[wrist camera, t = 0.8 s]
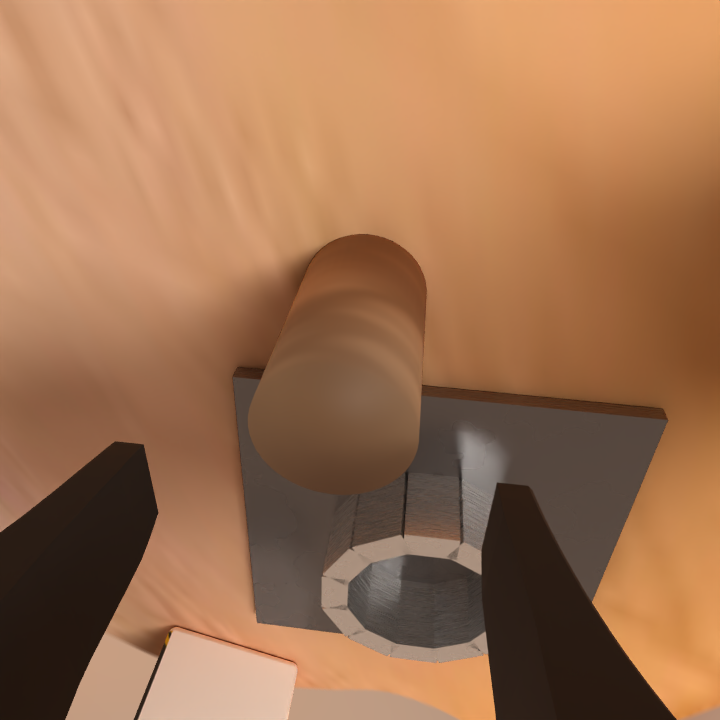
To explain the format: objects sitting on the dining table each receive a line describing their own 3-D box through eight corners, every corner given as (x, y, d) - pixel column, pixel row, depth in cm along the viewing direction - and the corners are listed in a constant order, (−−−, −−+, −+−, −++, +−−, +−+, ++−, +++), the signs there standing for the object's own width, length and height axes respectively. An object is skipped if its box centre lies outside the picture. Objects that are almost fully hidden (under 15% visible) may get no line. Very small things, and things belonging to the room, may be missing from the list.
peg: (432, 239, 19) (427, 371, 13) (420, 349, 21) (411, 503, 15) (303, 229, 19) (241, 353, 13) (305, 338, 21) (253, 485, 16)
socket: (663, 409, 21) (698, 485, 18) (564, 650, 30) (577, 728, 27) (237, 367, 22) (205, 432, 19) (259, 611, 31) (240, 682, 28)
